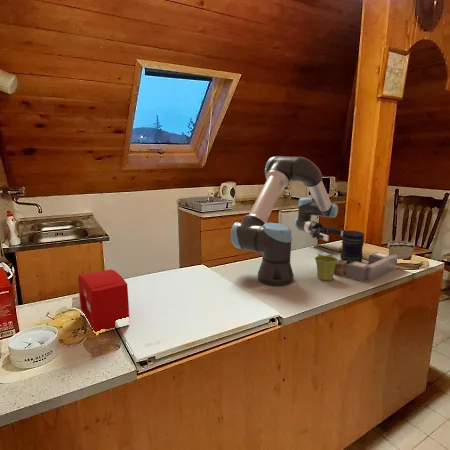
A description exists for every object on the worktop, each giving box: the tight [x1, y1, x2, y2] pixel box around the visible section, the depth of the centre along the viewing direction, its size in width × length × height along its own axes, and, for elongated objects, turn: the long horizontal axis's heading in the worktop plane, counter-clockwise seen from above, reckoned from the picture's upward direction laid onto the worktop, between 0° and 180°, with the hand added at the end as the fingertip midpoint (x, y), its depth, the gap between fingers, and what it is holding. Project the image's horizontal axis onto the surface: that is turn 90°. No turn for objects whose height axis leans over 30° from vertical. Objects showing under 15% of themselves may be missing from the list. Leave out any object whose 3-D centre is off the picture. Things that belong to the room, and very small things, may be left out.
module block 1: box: [345, 261, 368, 282], centre depth 147 cm, size 8×7×6 cm
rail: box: [365, 254, 398, 283], centre depth 151 cm, size 2×25×6 cm, turn 131°
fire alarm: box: [77, 268, 130, 332], centre depth 108 cm, size 16×11×15 cm
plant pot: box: [314, 255, 339, 281], centre depth 146 cm, size 9×9×9 cm
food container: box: [387, 240, 416, 261], centre depth 167 cm, size 12×6×10 cm, turn 84°
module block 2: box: [367, 251, 390, 265], centre depth 161 cm, size 8×8×6 cm
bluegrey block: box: [317, 251, 332, 257], centre depth 161 cm, size 4×4×6 cm
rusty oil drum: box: [340, 230, 365, 264], centre depth 165 cm, size 10×10×15 cm
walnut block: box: [333, 259, 347, 276], centre depth 153 cm, size 5×6×5 cm
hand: (339, 237), depth 173 cm, fingers open, 13 cm apart
